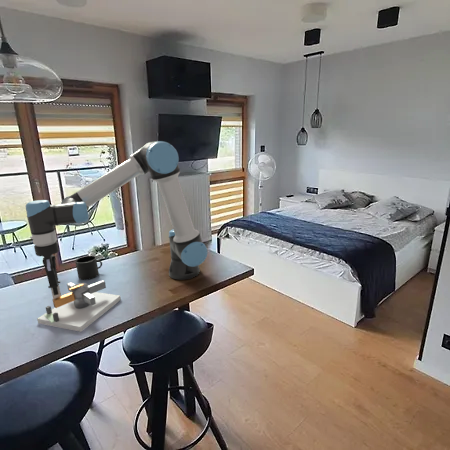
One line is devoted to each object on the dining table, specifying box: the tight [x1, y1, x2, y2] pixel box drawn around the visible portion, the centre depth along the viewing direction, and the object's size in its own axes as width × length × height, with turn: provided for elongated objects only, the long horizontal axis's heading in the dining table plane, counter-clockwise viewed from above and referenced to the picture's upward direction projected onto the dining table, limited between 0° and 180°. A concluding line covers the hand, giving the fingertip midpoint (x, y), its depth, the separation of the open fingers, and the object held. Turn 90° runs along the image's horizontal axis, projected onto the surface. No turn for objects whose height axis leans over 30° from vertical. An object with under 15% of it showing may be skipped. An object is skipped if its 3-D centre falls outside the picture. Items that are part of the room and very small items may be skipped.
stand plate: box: [36, 291, 122, 333], centre depth 124 cm, size 20×24×5 cm
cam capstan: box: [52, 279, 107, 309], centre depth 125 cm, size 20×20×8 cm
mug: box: [75, 255, 103, 281], centre depth 157 cm, size 9×12×9 cm
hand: (57, 300), depth 121 cm, fingers closed
